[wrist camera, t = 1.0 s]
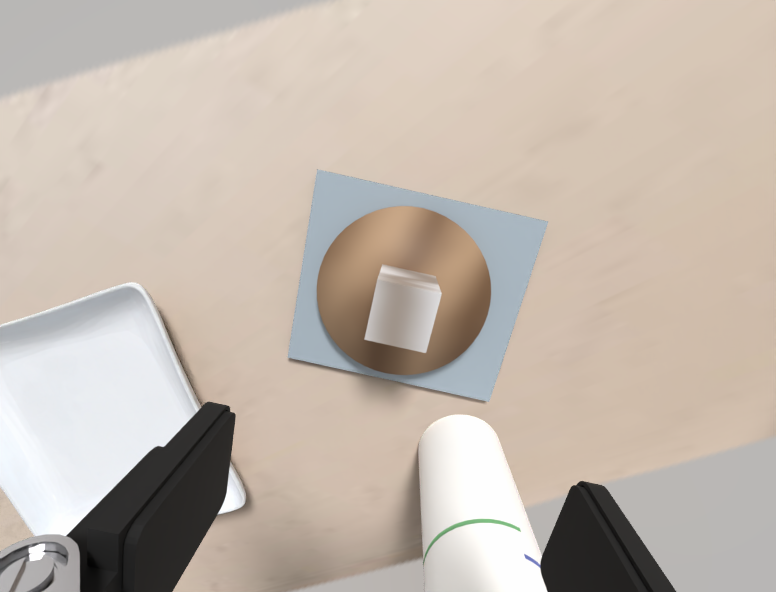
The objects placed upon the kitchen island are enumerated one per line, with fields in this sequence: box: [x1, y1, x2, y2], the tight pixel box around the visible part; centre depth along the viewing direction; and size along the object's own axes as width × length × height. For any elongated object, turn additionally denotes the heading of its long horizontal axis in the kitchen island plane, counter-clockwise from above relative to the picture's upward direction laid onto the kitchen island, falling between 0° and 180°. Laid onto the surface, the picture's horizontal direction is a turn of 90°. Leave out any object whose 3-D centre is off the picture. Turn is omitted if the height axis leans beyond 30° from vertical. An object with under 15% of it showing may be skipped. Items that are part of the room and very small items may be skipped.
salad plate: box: [0, 282, 246, 536], centre depth 33 cm, size 21×21×3 cm
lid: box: [317, 206, 491, 375], centre depth 26 cm, size 13×13×6 cm
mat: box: [288, 169, 548, 402], centre depth 30 cm, size 17×15×1 cm
